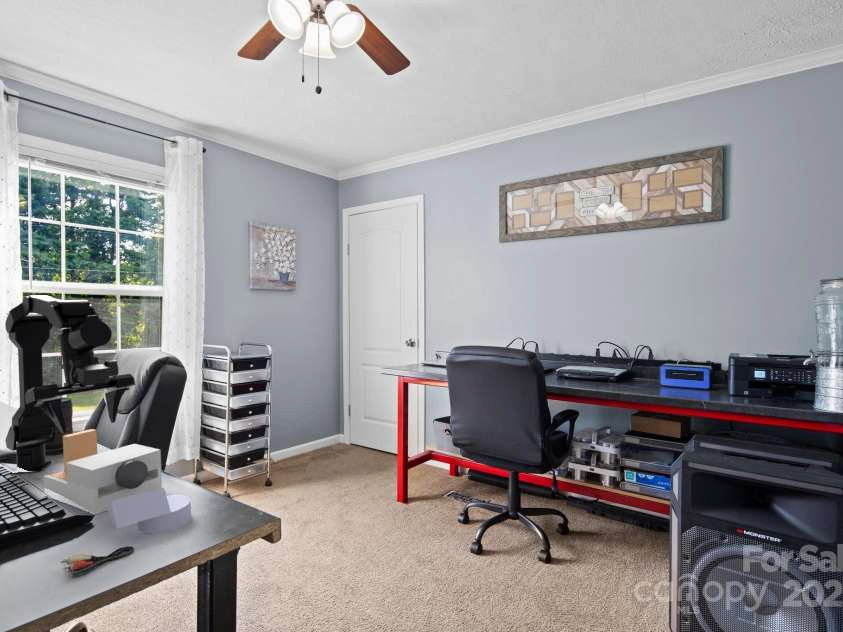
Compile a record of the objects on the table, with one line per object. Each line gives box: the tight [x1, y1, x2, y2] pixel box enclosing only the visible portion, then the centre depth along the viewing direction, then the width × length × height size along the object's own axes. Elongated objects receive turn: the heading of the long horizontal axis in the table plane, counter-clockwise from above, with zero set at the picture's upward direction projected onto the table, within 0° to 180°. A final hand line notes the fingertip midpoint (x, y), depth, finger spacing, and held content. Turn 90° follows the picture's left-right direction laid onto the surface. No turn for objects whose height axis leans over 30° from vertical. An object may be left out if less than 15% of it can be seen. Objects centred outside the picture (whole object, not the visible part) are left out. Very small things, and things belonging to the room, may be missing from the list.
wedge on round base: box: [107, 486, 192, 535], centre depth 89 cm, size 9×7×13 cm
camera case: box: [43, 443, 163, 516], centre depth 104 cm, size 22×14×9 cm, turn 61°
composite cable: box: [60, 545, 135, 578], centre depth 76 cm, size 10×5×2 cm, turn 128°
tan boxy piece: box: [50, 428, 98, 481], centre depth 108 cm, size 8×12×9 cm
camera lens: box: [45, 396, 74, 457], centre depth 134 cm, size 8×8×15 cm
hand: (89, 427), depth 101 cm, fingers open, 9 cm apart
